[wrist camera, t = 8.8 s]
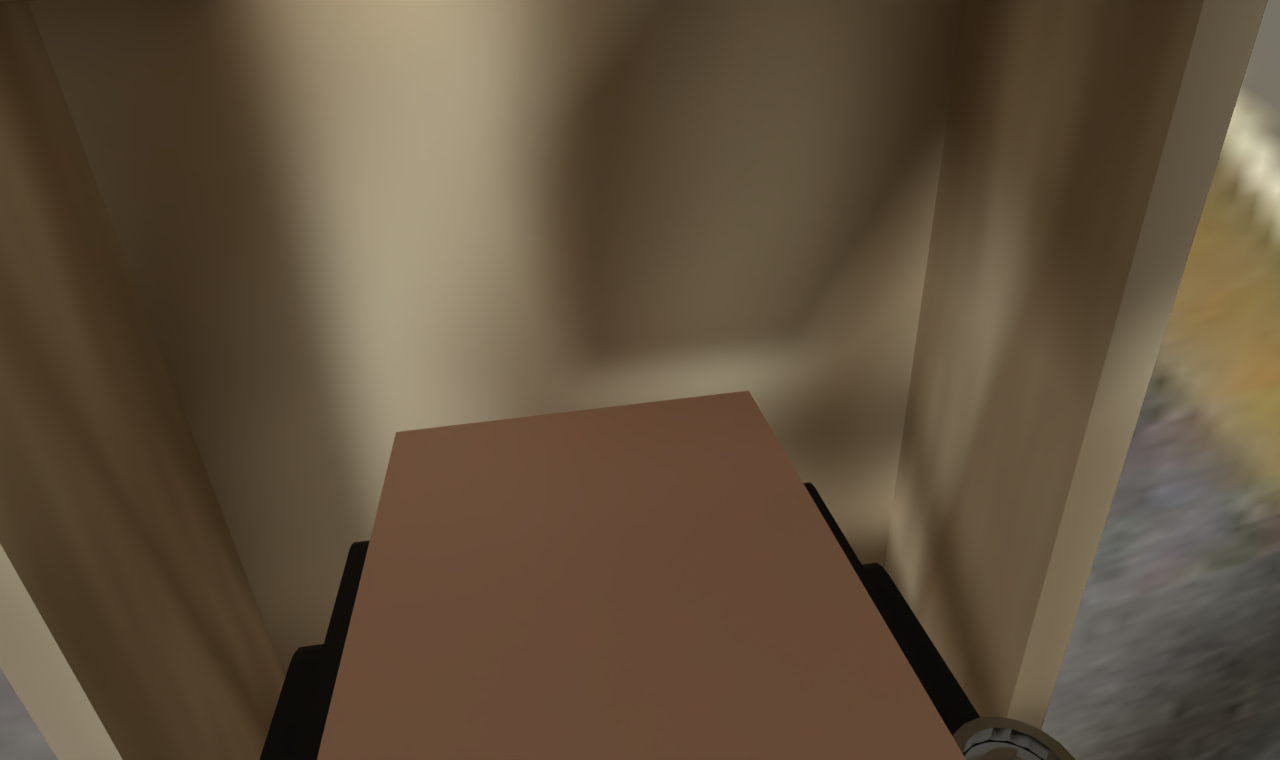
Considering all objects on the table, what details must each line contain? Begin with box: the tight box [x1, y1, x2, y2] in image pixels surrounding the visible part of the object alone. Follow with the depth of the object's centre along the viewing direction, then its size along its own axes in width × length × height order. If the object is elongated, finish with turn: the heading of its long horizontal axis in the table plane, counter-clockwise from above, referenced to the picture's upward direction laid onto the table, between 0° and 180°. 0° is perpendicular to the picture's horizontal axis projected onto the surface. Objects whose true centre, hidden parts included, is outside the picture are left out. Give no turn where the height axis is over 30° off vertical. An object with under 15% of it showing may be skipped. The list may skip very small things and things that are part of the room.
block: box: [317, 391, 966, 760], centre depth 9 cm, size 5×5×7 cm
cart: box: [0, 0, 1268, 760], centre depth 13 cm, size 16×19×15 cm
